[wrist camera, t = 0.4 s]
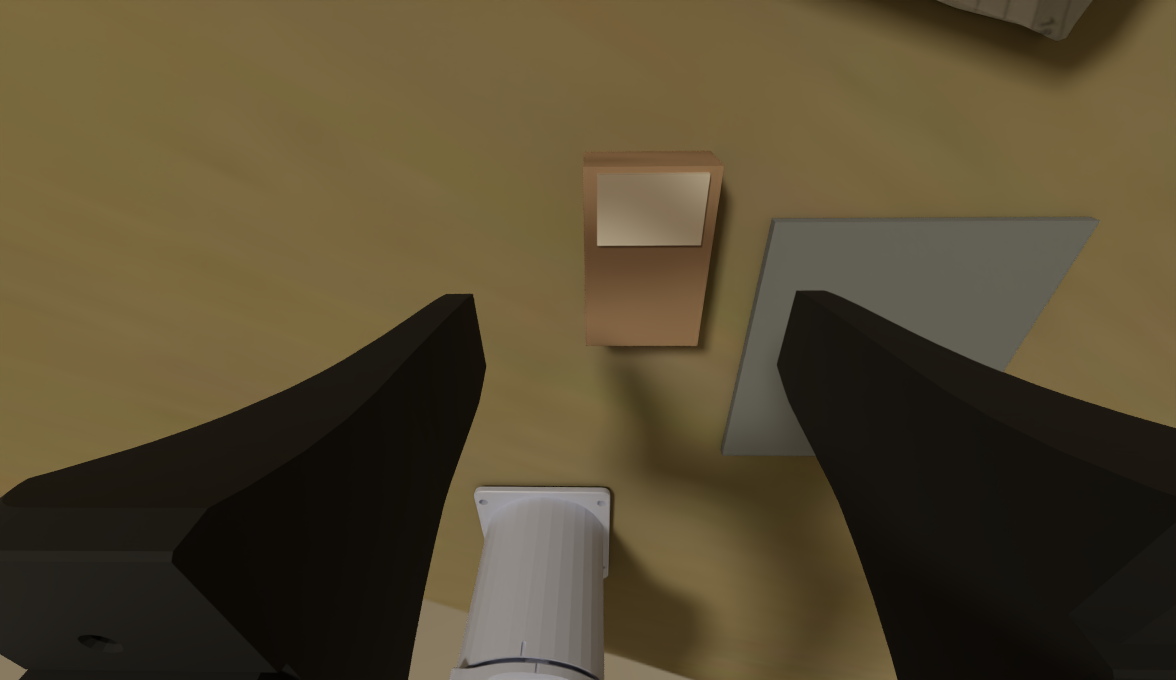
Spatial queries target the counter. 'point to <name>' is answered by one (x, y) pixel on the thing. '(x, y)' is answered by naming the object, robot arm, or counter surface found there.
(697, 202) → the walnut block
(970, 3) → the packaged product
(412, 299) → the counter surface
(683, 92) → the counter surface
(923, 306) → the slate mat
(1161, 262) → the counter surface
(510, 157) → the counter surface
